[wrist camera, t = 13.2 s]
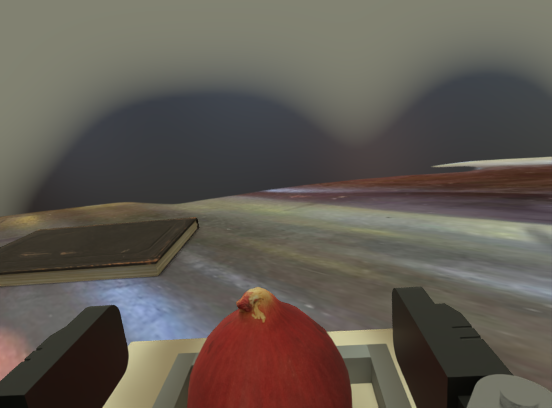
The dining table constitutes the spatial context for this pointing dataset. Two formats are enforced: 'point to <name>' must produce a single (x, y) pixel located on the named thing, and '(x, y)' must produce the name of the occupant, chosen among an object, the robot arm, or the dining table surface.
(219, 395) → the onion
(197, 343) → the cradle board
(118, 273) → the hardcover book
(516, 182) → the dining table surface
